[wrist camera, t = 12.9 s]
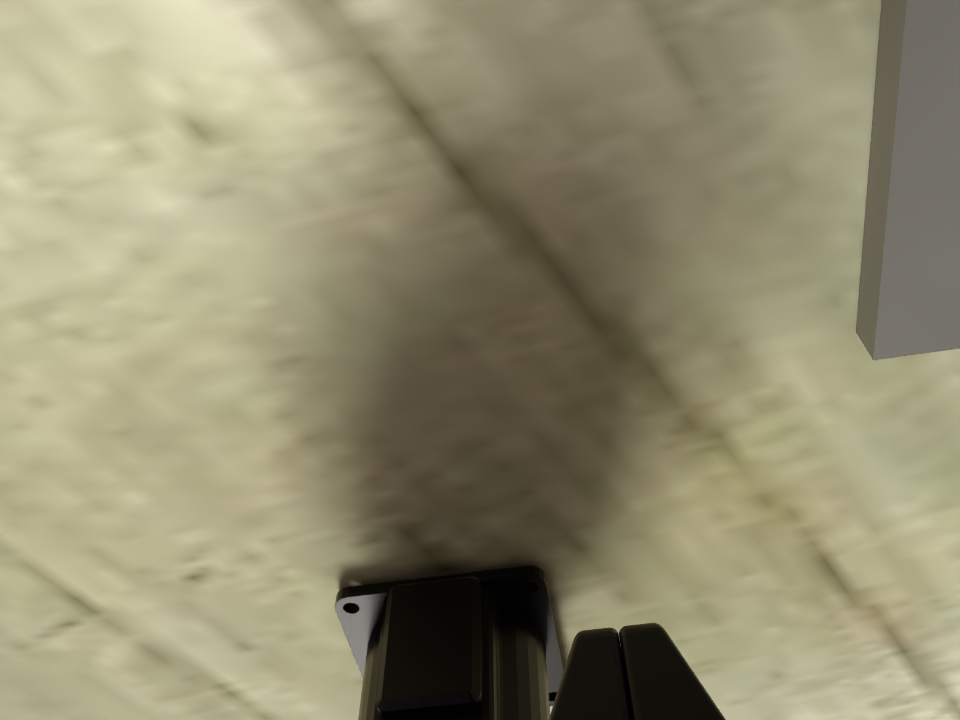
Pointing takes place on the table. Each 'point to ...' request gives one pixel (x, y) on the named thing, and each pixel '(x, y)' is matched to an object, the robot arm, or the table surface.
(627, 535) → the table surface
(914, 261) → the rail
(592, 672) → the robot arm
